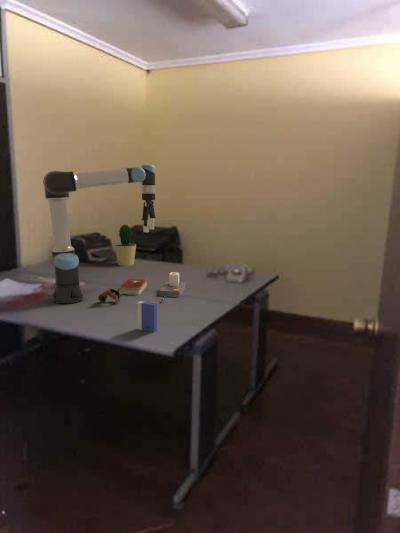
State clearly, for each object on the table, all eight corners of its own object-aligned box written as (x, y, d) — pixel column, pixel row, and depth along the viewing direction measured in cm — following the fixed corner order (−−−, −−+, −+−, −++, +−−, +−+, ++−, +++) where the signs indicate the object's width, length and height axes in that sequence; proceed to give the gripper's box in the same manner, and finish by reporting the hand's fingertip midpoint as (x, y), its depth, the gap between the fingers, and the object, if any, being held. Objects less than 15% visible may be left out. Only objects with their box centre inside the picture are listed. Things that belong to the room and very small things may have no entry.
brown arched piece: (106, 299, 205) (114, 287, 203) (118, 310, 201) (126, 297, 199) (90, 299, 194) (98, 286, 192) (102, 311, 190) (110, 297, 188)
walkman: (157, 329, 163) (157, 302, 161) (154, 332, 161) (153, 304, 158) (140, 327, 166) (140, 300, 164) (137, 329, 164) (136, 301, 161)
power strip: (175, 303, 198) (175, 297, 197) (154, 302, 199) (154, 296, 199) (185, 287, 230) (185, 281, 229) (166, 286, 231) (166, 280, 230)
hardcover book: (117, 295, 214) (117, 287, 213) (127, 285, 234) (127, 278, 233) (139, 295, 213) (139, 288, 212) (147, 285, 233) (147, 279, 232)
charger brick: (177, 290, 222) (178, 274, 220) (169, 289, 222) (169, 274, 220) (179, 287, 227) (179, 272, 225) (170, 287, 227) (170, 272, 225)
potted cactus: (122, 267, 278) (121, 225, 272) (111, 264, 290) (110, 223, 283) (140, 265, 288) (140, 224, 282) (129, 261, 299) (128, 222, 293)
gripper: (149, 193, 208) (150, 233, 213) (159, 192, 232) (160, 228, 237) (136, 193, 209) (136, 233, 213) (147, 192, 233) (147, 228, 238)
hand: (148, 230), depth 225 cm, fingers open, 13 cm apart
